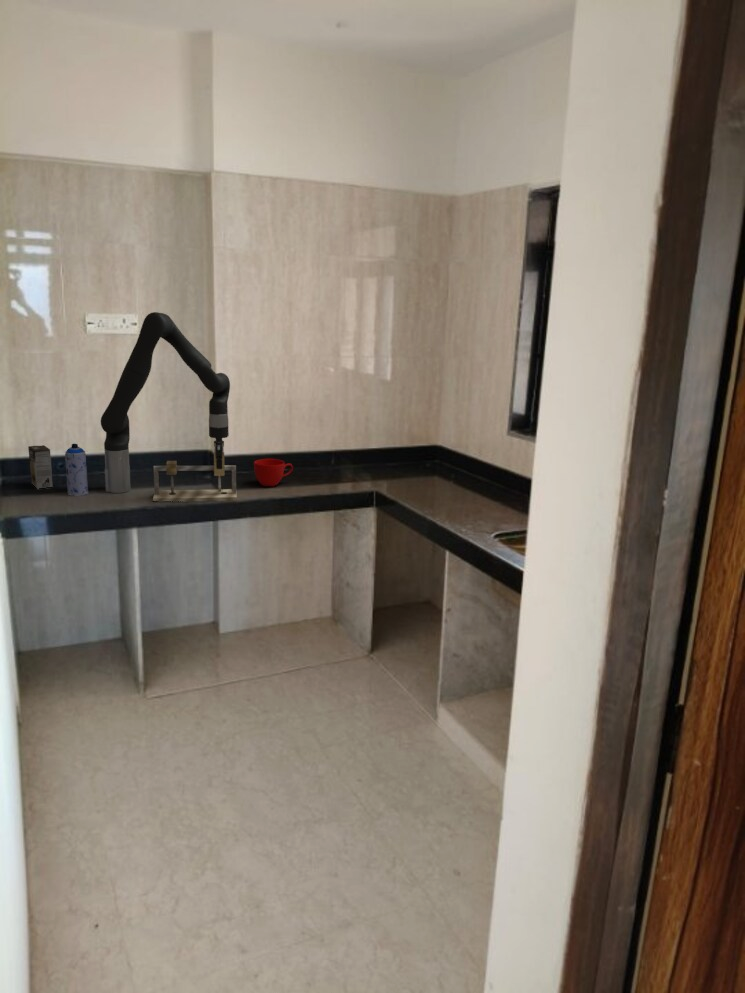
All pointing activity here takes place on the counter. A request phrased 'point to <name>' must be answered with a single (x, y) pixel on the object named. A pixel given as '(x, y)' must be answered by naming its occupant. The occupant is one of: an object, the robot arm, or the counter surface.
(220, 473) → the trammel head
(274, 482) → the ceramic cup
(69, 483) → the aerosol can
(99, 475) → the counter surface
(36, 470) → the coffee box
